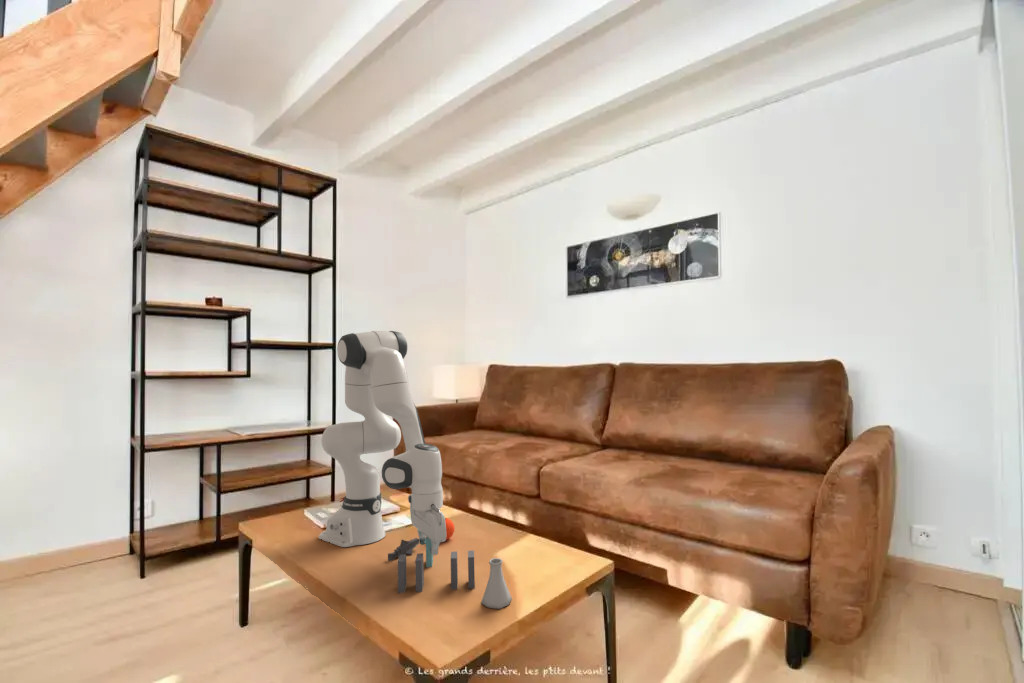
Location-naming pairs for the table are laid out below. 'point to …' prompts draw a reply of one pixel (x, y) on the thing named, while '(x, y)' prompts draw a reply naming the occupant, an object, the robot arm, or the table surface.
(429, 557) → the domino
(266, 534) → the table surface
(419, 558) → the domino
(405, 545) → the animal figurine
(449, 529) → the clementine
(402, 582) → the domino
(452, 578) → the domino
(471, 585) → the domino
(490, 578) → the flask
